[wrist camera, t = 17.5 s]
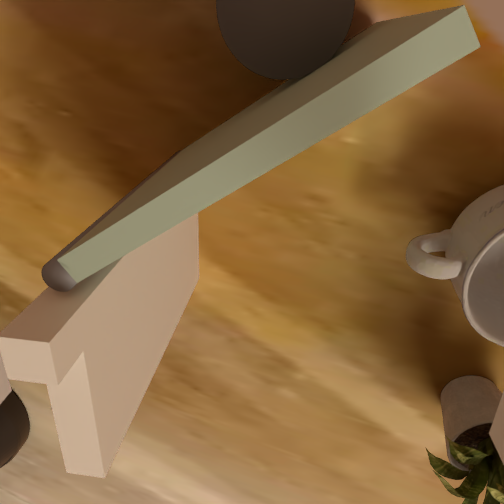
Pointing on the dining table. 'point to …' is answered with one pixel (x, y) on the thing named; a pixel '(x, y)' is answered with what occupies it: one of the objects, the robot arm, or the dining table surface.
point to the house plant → (471, 440)
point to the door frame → (104, 343)
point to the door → (270, 134)
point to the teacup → (470, 262)
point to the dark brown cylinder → (284, 33)
